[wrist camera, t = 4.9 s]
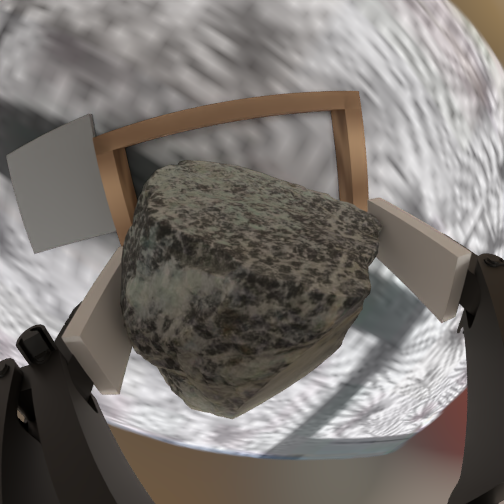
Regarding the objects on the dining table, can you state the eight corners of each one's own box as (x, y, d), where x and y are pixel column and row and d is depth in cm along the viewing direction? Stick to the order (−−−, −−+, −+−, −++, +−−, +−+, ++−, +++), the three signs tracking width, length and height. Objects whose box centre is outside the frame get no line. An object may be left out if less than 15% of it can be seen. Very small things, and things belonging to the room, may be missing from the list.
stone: (441, 199, 4) (160, 476, 6) (419, 257, 12) (294, 392, 15) (167, 63, 8) (59, 273, 11) (288, 158, 17) (199, 282, 19)
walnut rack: (106, 136, 20) (92, 137, 18) (343, 94, 21) (358, 91, 18) (152, 295, 27) (146, 312, 24) (355, 255, 28) (368, 269, 25)
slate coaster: (9, 155, 19) (6, 155, 18) (91, 114, 19) (89, 113, 19) (37, 251, 23) (34, 253, 23) (119, 228, 24) (117, 231, 23)
